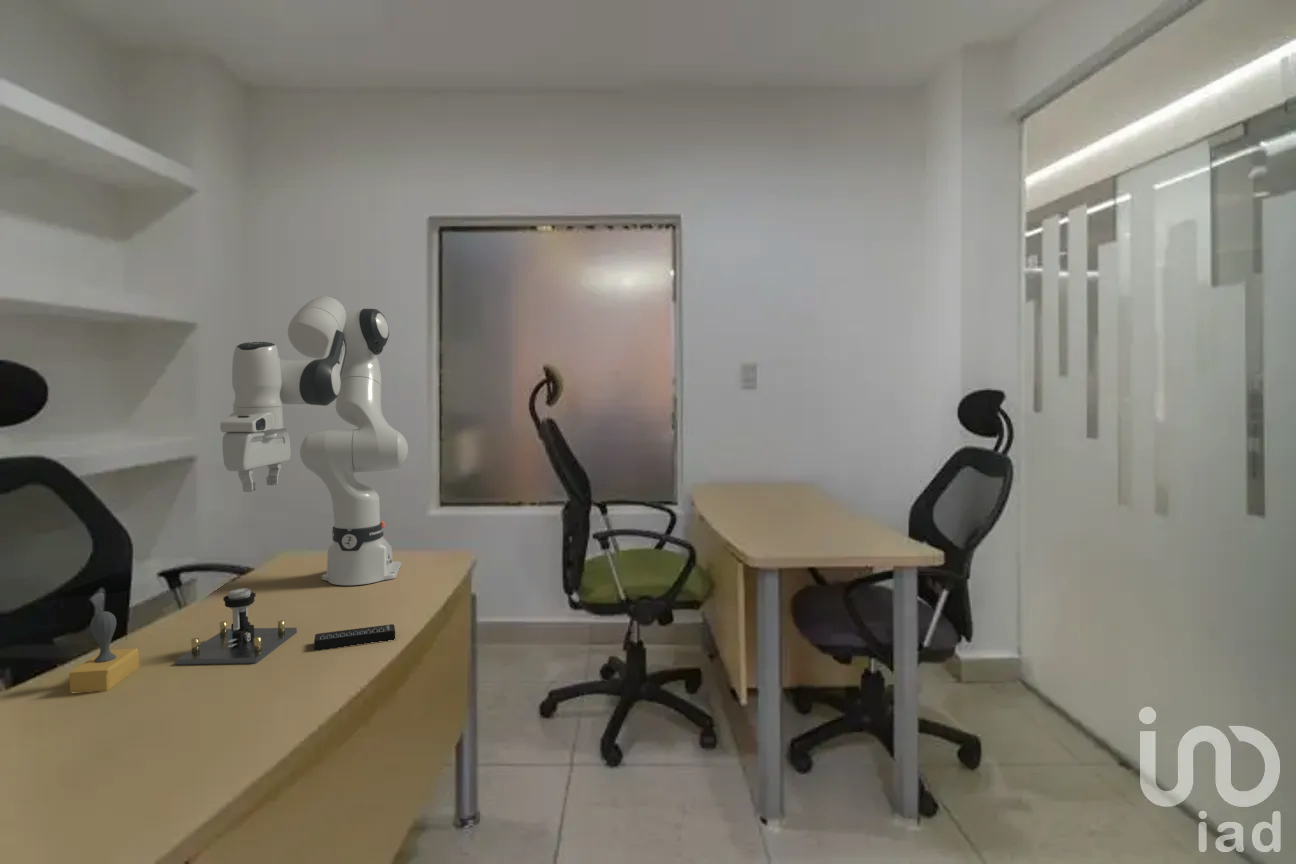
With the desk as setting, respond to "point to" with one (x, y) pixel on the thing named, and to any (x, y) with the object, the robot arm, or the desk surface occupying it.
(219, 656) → the chassis
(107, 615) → the rubber stamp
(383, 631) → the multiport hub
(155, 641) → the desk surface
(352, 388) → the robot arm
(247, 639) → the push button
